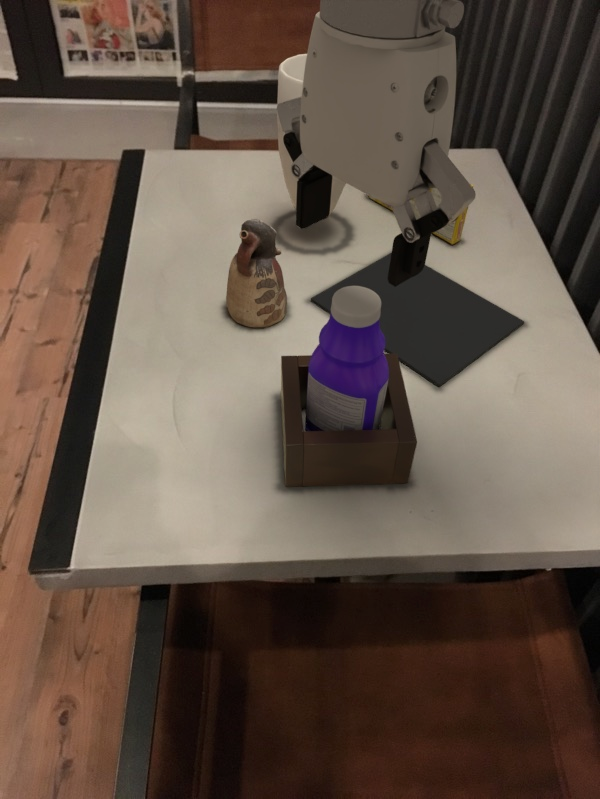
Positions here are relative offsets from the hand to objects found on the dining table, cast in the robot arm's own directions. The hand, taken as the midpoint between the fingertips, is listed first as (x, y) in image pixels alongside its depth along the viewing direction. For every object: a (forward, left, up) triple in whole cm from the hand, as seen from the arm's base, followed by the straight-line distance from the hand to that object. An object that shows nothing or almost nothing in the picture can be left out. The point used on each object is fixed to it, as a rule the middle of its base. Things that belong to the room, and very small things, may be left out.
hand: (356, 248), depth 52 cm
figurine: (+21, -7, -22) cm, 31 cm away
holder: (0, 0, -22) cm, 22 cm away
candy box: (+22, -37, -22) cm, 48 cm away
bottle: (0, 0, -22) cm, 22 cm away
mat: (+8, -21, -22) cm, 32 cm away
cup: (+29, -24, -22) cm, 44 cm away
